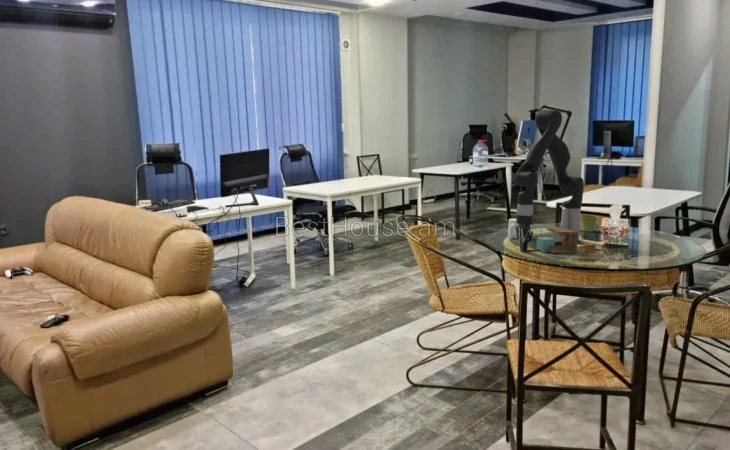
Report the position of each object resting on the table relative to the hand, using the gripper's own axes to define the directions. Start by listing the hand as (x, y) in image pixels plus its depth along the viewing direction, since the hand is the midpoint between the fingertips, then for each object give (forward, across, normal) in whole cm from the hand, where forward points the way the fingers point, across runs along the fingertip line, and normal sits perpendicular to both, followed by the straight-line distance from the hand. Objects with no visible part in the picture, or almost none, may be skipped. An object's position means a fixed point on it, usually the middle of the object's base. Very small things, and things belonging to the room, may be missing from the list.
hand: (523, 249), depth 266 cm
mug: (+2, -34, +12) cm, 36 cm away
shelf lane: (+1, 0, +17) cm, 17 cm away
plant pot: (+2, -41, +60) cm, 73 cm away
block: (+1, 0, +7) cm, 7 cm away
